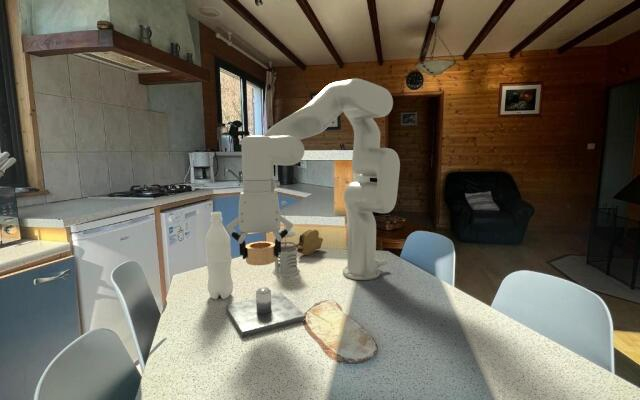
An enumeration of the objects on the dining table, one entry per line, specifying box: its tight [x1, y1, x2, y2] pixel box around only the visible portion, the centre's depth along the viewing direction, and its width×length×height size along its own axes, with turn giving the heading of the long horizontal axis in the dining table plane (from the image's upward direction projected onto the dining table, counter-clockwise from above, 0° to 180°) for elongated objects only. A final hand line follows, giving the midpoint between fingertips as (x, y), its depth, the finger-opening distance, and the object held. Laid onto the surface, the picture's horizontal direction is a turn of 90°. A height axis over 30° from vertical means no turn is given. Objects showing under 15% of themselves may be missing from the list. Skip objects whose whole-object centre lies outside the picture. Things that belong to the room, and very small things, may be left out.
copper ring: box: [245, 241, 276, 266], centre depth 89 cm, size 7×7×4 cm
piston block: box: [225, 286, 306, 339], centre depth 91 cm, size 16×16×7 cm
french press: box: [272, 200, 301, 277], centre depth 121 cm, size 10×12×25 cm
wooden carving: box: [295, 229, 324, 256], centre depth 143 cm, size 16×5×10 cm, turn 150°
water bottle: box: [204, 211, 234, 301], centre depth 102 cm, size 7×7×25 cm
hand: (260, 256), depth 88 cm, fingers closed on copper ring, 7 cm apart
